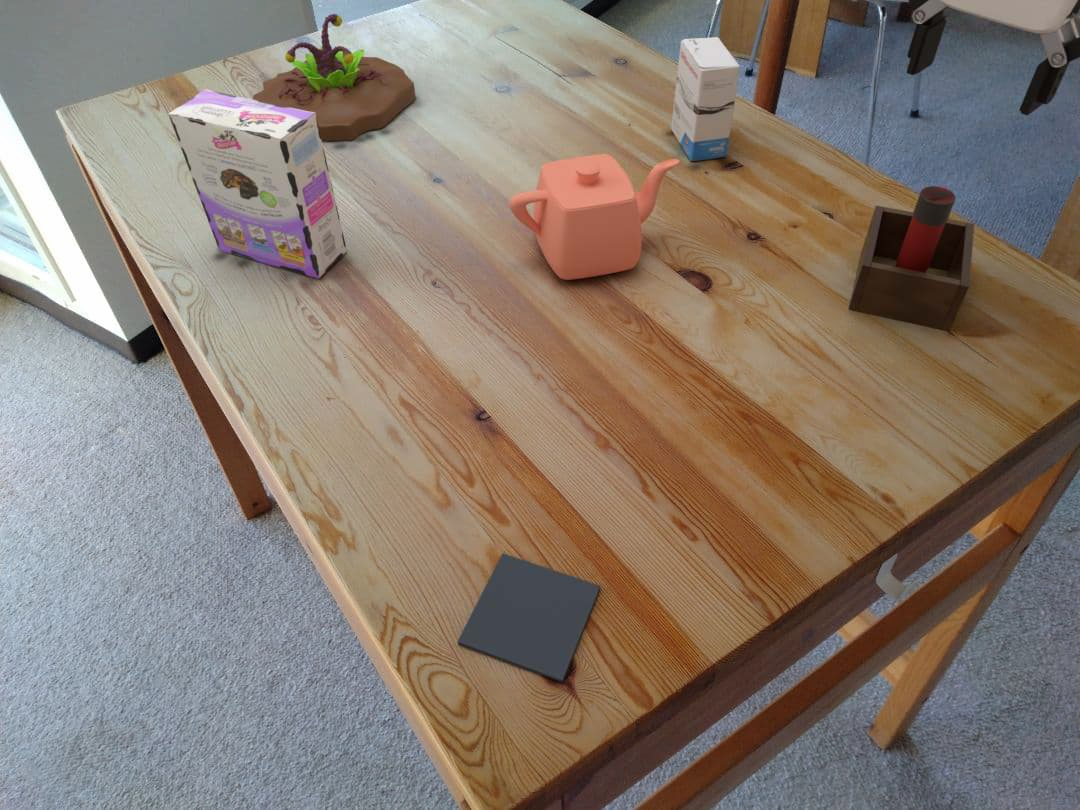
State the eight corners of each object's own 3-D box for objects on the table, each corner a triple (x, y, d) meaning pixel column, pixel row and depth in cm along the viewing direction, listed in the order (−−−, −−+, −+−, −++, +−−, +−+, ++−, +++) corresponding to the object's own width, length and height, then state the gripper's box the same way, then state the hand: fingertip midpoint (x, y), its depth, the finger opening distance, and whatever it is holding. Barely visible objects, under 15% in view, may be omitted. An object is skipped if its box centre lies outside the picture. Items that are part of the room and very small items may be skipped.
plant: (440, 93, 118) (431, 10, 110) (341, 154, 107) (323, 67, 99) (338, 58, 126) (323, -21, 118) (236, 111, 116) (211, 28, 107)
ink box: (728, 158, 105) (742, 65, 96) (689, 162, 104) (700, 69, 96) (706, 124, 111) (718, 34, 102) (669, 129, 110) (678, 38, 102)
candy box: (350, 251, 93) (318, 110, 81) (318, 282, 89) (281, 139, 78) (249, 222, 97) (205, 84, 85) (215, 250, 94) (164, 111, 82)
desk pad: (600, 588, 63) (600, 585, 63) (562, 683, 58) (562, 680, 58) (502, 555, 66) (502, 552, 65) (457, 644, 60) (457, 641, 60)
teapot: (501, 233, 95) (495, 149, 87) (653, 208, 98) (661, 125, 90) (525, 296, 87) (521, 210, 80) (689, 267, 90) (701, 181, 82)
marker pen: (920, 282, 88) (956, 189, 80) (918, 300, 86) (954, 207, 78) (889, 275, 88) (922, 183, 80) (886, 293, 86) (919, 200, 78)
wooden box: (956, 267, 89) (974, 223, 85) (949, 331, 82) (969, 286, 78) (862, 248, 92) (875, 205, 88) (848, 309, 85) (862, 264, 81)
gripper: (1224, -144, 54) (1100, 108, 66) (968, -189, 63) (901, 42, 75) (1180, -118, 51) (1058, 143, 63) (916, -169, 59) (854, 69, 72)
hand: (973, 88), depth 69 cm, fingers open, 9 cm apart
